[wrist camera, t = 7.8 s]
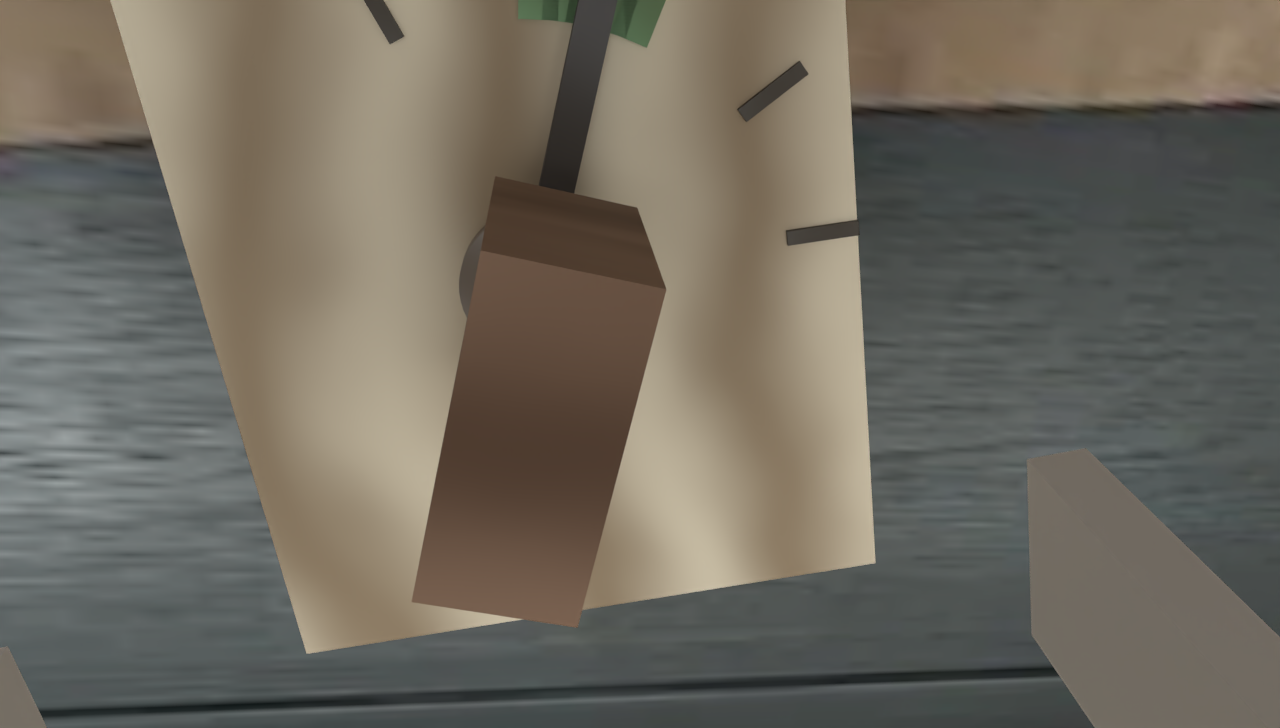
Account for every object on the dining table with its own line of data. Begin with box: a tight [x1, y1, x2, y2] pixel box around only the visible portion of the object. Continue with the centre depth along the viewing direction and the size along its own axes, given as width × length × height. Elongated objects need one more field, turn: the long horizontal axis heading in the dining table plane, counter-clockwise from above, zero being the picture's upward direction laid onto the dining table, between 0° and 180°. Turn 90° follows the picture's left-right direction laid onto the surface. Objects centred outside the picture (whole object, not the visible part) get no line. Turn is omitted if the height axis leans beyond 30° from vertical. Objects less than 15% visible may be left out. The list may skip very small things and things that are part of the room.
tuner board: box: [110, 0, 875, 654], centre depth 30 cm, size 18×22×2 cm
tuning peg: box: [412, 0, 666, 628], centre depth 23 cm, size 12×4×10 cm, turn 166°
